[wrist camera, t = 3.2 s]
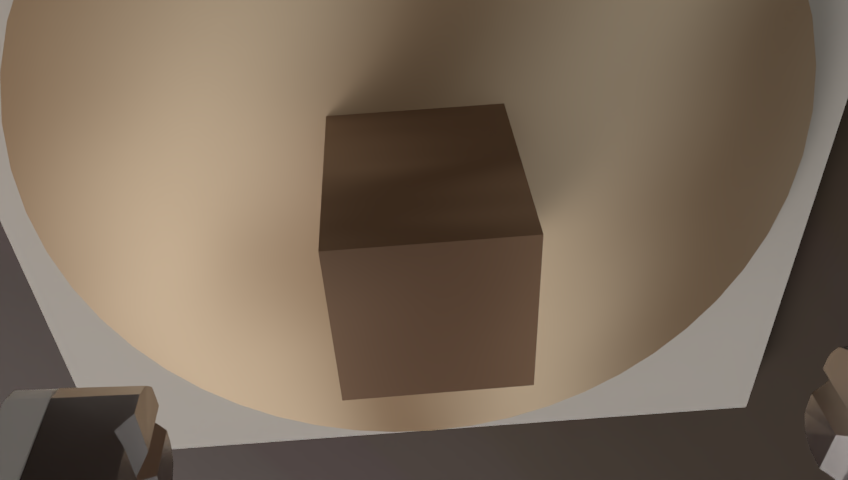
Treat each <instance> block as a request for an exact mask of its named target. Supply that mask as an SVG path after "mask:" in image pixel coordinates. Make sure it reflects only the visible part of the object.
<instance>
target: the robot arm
mask: <svg viewBox="0 0 848 480" xmlns="http://www.w3.org/2000/svg"><path fill="white" fill-rule="evenodd" d="M823 370H824V371H825V373H826V375H827V377H828V378H829V381H828V382H826V383H825V384H824V385H822V386H821V387H820V388H818V389H817V390H816V391H814V392H813V393H812V394H811V397H810V399H809V402H808V405H807V407H806V410H805V434H806V437H807V441H808V444H809V447H810V450H811V452H812V454H813V456H814V458H815V460H816V462H817V464H818V466H819V468H820V469H822V470H823V471H825V472H826V473H827V474H829V475H830V476H831V477H833V478H834V479H836V480H848V346H846V347H839V348H837V349H836V350H835V351H833V352H832V353H831V354H830V355H829V357H828V359H827V361H826V363H825V365H824V367H823ZM158 408H159V404H158V402H157V399H156V396H155V394H154V391H153V388H152V387H150V386H119V387H85V388H59V389H39V390H14V391H13V392H12V393H11V394H10V395H9V397H8V398H7V399H6V400H5V401H4V402H3V403H2V406H1V408H0V480H172V478H173V456H172V448H171V442H170V439H169V436H168V432H167V430H166V429H164V428H163V427H161V426H160V425H158V424H157V423H155V421H156V416H157V412H158Z"/></svg>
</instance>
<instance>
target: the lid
mask: <svg viewBox="0 0 848 480" xmlns="http://www.w3.org/2000/svg"><path fill="white" fill-rule="evenodd" d="M815 75H816V55H815V43H814V30H813V18H812V13H811V9H810V5H809V1H808V0H13V3H12V6H11V10H10V13H9V16H8V19H7V25H6V32H5V40H4V47H3V55H2V62H1V70H0V85H1V116H2V127H3V132H4V137H5V142H6V147H7V153H8V158H9V163H10V168H11V171H12V174H13V177H14V180H15V183H16V186H17V188H18V191H19V194H20V197H21V200H22V202H23V205H24V208H25V211H26V213H27V215H28V217H29V219H30V221H31V223H32V225H33V227H34V229H35V230H36V232H37V234H38V236H39V238H40V240H41V242H42V244H43V246H44V248H45V250H46V251H47V253H48V254H49V256H50V257H51V259H52V260H53V261H54V263H55V264H56V266H57V267H58V269H59V270H60V271H61V273H62V274H63V276H64V277H65V278H66V280H67V281H68V283H69V284H70V285H71V287H72V288H73V289H74V290H75V291H76V292H77V294H78V295H79V296H80V297H81V298H82V299H83V300H84V301H85V302H86V303H87V304H88V306H89V307H90V308H91V309H92V310H93V311H94V312H95V313H96V314H97V315H98V316H99V318H100V319H101V320H103V321H104V322H105V323H106V324H107V325H108V326H110V327H111V328H112V329H113V330H114V331H115V332H117V333H118V334H119V335H120V336H121V337H122V338H123V339H125V340H126V341H127V342H128V343H129V344H130V345H132V346H133V347H134V348H136V349H137V350H139V351H140V352H142V353H143V354H144V355H146V356H147V357H149V358H150V359H152V360H153V361H155V362H156V363H158V364H159V365H161V366H162V367H163V368H165V369H166V370H168V371H170V372H172V373H174V374H176V375H177V376H179V377H181V378H183V379H185V380H187V381H188V382H190V383H192V384H194V385H196V386H198V387H199V388H201V389H203V390H206V391H208V392H210V393H213V394H215V395H218V396H220V397H222V398H225V399H227V400H229V401H232V402H234V403H237V404H239V405H242V406H245V407H248V408H251V409H255V410H258V411H261V412H264V413H267V414H270V415H274V416H277V417H281V418H286V419H290V420H295V421H299V422H304V423H308V424H313V425H319V426H326V427H334V428H342V429H350V430H362V431H385V432H405V431H430V430H440V429H448V428H456V427H464V426H472V425H477V424H482V423H487V422H491V421H496V420H501V419H506V418H511V417H514V416H517V415H521V414H524V413H527V412H531V411H534V410H537V409H541V408H544V407H547V406H550V405H553V404H555V403H558V402H560V401H563V400H565V399H568V398H570V397H573V396H575V395H578V394H580V393H583V392H585V391H587V390H589V389H591V388H593V387H595V386H597V385H599V384H601V383H603V382H605V381H607V380H609V379H611V378H613V377H615V376H617V375H619V374H621V373H623V372H624V371H626V370H628V369H629V368H631V367H632V366H634V365H636V364H637V363H639V362H640V361H642V360H644V359H645V358H647V357H649V356H650V355H652V354H653V353H655V352H656V351H658V350H659V349H660V348H661V347H663V346H664V345H665V344H667V343H668V342H669V341H671V340H672V339H673V338H675V337H676V336H677V335H679V334H680V333H681V332H683V331H684V330H685V329H686V328H688V327H689V326H690V325H691V324H692V323H693V322H694V321H695V320H696V319H697V318H698V317H699V316H700V315H702V314H703V313H704V312H705V311H706V310H707V309H708V308H709V307H710V306H711V305H712V304H713V303H714V302H715V301H717V299H718V298H719V297H720V296H721V295H722V294H723V293H724V291H725V290H726V289H727V288H728V287H729V286H730V284H731V283H732V282H733V281H734V280H735V279H736V278H737V276H738V275H739V274H740V273H741V272H742V271H743V269H744V268H745V267H746V265H747V264H748V262H749V261H750V259H751V258H752V257H753V255H754V254H755V252H756V251H757V249H758V248H759V246H760V245H761V243H762V242H763V241H764V239H765V238H766V236H767V235H768V233H769V231H770V229H771V227H772V225H773V223H774V222H775V220H776V218H777V216H778V214H779V212H780V210H781V208H782V206H783V204H784V202H785V201H786V199H787V197H788V194H789V192H790V189H791V186H792V183H793V181H794V178H795V175H796V173H797V170H798V167H799V165H800V162H801V159H802V157H803V153H804V148H805V144H806V139H807V135H808V130H809V126H810V121H811V117H812V113H813V102H814V88H815Z"/></svg>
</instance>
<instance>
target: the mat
mask: <svg viewBox="0 0 848 480" xmlns="http://www.w3.org/2000/svg"><path fill="white" fill-rule="evenodd" d="M808 1H809V5H810V9H811V13H812V18H813V30H814V43H815V55H816V75H815V88H814V102H813V113H812V117H811V121H810V126H809V130H808V135H807V139H806V144H805V148H804V153H803V157H802V159H801V162H800V165H799V167H798V170H797V173H796V175H795V178H794V181H793V183H792V186H791V189H790V192H789V194H788V197H787V199H786V201H785V202H784V204H783V206H782V208H781V210H780V212H779V214H778V216H777V218H776V220H775V222H774V223H773V225H772V227H771V229H770V231H769V233H768V235H767V236H766V238H765V239H764V241H763V242H762V243H761V245H760V246H759V248H758V249H757V251H756V252H755V254H754V255H753V257H752V258H751V259H750V261H749V262H748V264H747V265H746V267H745V268H744V269H743V271H742V272H741V273H740V274H739V275H738V276H737V278H736V279H735V280H734V281H733V282H732V283H731V284H730V286H729V287H728V288H727V289H726V290H725V291H724V293H723V294H722V295H721V296H720V297H719V298H718V299H717V301H715V302H714V303H713V304H712V305H711V306H710V307H709V308H708V309H707V310H706V311H705V312H704V313H703V314H702V315H700V316H699V317H698V318H697V319H696V320H695V321H694V322H693V323H692V324H691V325H690V326H689V327H688V328H686V329H685V330H684V331H683V332H681V333H680V334H679V335H677V336H676V337H675V338H673V339H672V340H671V341H669V342H668V343H667V344H665V345H664V346H663V347H661V348H660V349H659V350H658V351H656V352H655V353H653V354H652V355H650V356H649V357H647V358H645V359H644V360H642V361H640V362H639V363H637V364H636V365H634V366H632V367H631V368H629V369H628V370H626V371H624V372H623V373H621V374H619V375H617V376H615V377H613V378H611V379H609V380H607V381H605V382H603V383H601V384H599V385H597V386H595V387H593V388H591V389H589V390H587V391H585V392H583V393H580V394H578V395H575V396H573V397H570V398H568V399H565V400H563V401H560V402H558V403H555V404H553V405H550V406H547V407H544V408H541V409H537V410H534V411H531V412H527V413H524V414H521V415H517V416H514V417H511V418H506V419H501V420H496V421H491V422H487V423H482V424H477V425H472V426H464V427H456V428H467V427H481V426H494V425H508V424H522V423H535V422H549V421H562V420H576V419H590V418H603V417H617V416H631V415H644V414H658V413H671V412H685V411H699V410H712V409H726V408H739V407H746V405H747V402H748V399H749V396H750V393H751V390H752V387H753V384H754V381H755V378H756V375H757V372H758V369H759V366H760V363H761V360H762V357H763V354H764V351H765V348H766V345H767V342H768V339H769V336H770V333H771V330H772V327H773V323H774V320H775V317H776V314H777V311H778V308H779V305H780V302H781V299H782V296H783V293H784V290H785V287H786V284H787V281H788V278H789V275H790V272H791V269H792V266H793V263H794V260H795V257H796V254H797V251H798V248H799V245H800V242H801V239H802V235H803V232H804V229H805V226H806V223H807V220H808V217H809V214H810V211H811V208H812V205H813V202H814V199H815V196H816V193H817V190H818V187H819V184H820V181H821V178H822V175H823V172H824V169H825V166H826V163H827V160H828V157H829V154H830V150H831V147H832V144H833V141H834V138H835V135H836V132H837V129H838V126H839V123H840V120H841V117H842V114H843V111H844V108H845V105H846V102H847V99H848V0H808ZM12 3H13V0H0V70H1V62H2V55H3V47H4V40H5V32H6V25H7V19H8V16H9V13H10V10H11V6H12ZM0 221H1V224H2V226H3V228H4V230H5V232H6V234H7V237H8V239H9V241H10V243H11V245H12V248H13V250H14V252H15V254H16V256H17V258H18V261H19V263H20V265H21V267H22V269H23V272H24V274H25V276H26V278H27V280H28V282H29V285H30V287H31V289H32V291H33V293H34V296H35V298H36V300H37V302H38V304H39V306H40V309H41V311H42V313H43V315H44V317H45V320H46V322H47V324H48V326H49V328H50V330H51V333H52V335H53V337H54V339H55V341H56V344H57V346H58V348H59V350H60V352H61V355H62V357H63V359H64V361H65V363H66V365H67V368H68V370H69V372H70V374H71V376H72V379H73V381H74V383H75V385H76V387H77V388H85V387H119V386H150V387H152V388H153V391H154V394H155V396H156V399H157V402H158V404H159V408H158V412H157V416H156V421H155V423H157V424H158V425H160V426H161V427H163V428H164V429H166V430H167V432H168V436H169V439H170V442H171V448H172V449H182V448H195V447H209V446H222V445H236V444H250V443H263V442H277V441H290V440H304V439H318V438H331V437H345V436H358V435H372V434H386V433H399V432H385V431H362V430H350V429H342V428H334V427H326V426H319V425H313V424H308V423H304V422H299V421H295V420H290V419H286V418H281V417H277V416H274V415H270V414H267V413H264V412H261V411H258V410H255V409H251V408H248V407H245V406H242V405H239V404H237V403H234V402H232V401H229V400H227V399H225V398H222V397H220V396H218V395H215V394H213V393H210V392H208V391H206V390H203V389H201V388H199V387H198V386H196V385H194V384H192V383H190V382H188V381H187V380H185V379H183V378H181V377H179V376H177V375H176V374H174V373H172V372H170V371H168V370H166V369H165V368H163V367H162V366H161V365H159V364H158V363H156V362H155V361H153V360H152V359H150V358H149V357H147V356H146V355H144V354H143V353H142V352H140V351H139V350H137V349H136V348H134V347H133V346H132V345H130V344H129V343H128V342H127V341H126V340H125V339H123V338H122V337H121V336H120V335H119V334H118V333H117V332H115V331H114V330H113V329H112V328H111V327H110V326H108V325H107V324H106V323H105V322H104V321H103V320H101V319H100V318H99V316H98V315H97V314H96V313H95V312H94V311H93V310H92V309H91V308H90V307H89V306H88V304H87V303H86V302H85V301H84V300H83V299H82V298H81V297H80V296H79V295H78V294H77V292H76V291H75V290H74V289H73V288H72V287H71V285H70V284H69V283H68V281H67V280H66V278H65V277H64V276H63V274H62V273H61V271H60V270H59V269H58V267H57V266H56V264H55V263H54V261H53V260H52V259H51V257H50V256H49V254H48V253H47V251H46V250H45V248H44V246H43V244H42V242H41V240H40V238H39V236H38V234H37V232H36V230H35V229H34V227H33V225H32V223H31V221H30V219H29V217H28V215H27V213H26V211H25V208H24V205H23V202H22V200H21V197H20V194H19V191H18V188H17V186H16V183H15V180H14V177H13V174H12V171H11V168H10V163H9V158H8V153H7V147H6V142H5V137H4V132H3V127H2V116H1V85H0ZM448 429H454V428H448ZM405 432H413V431H405Z"/></svg>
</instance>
